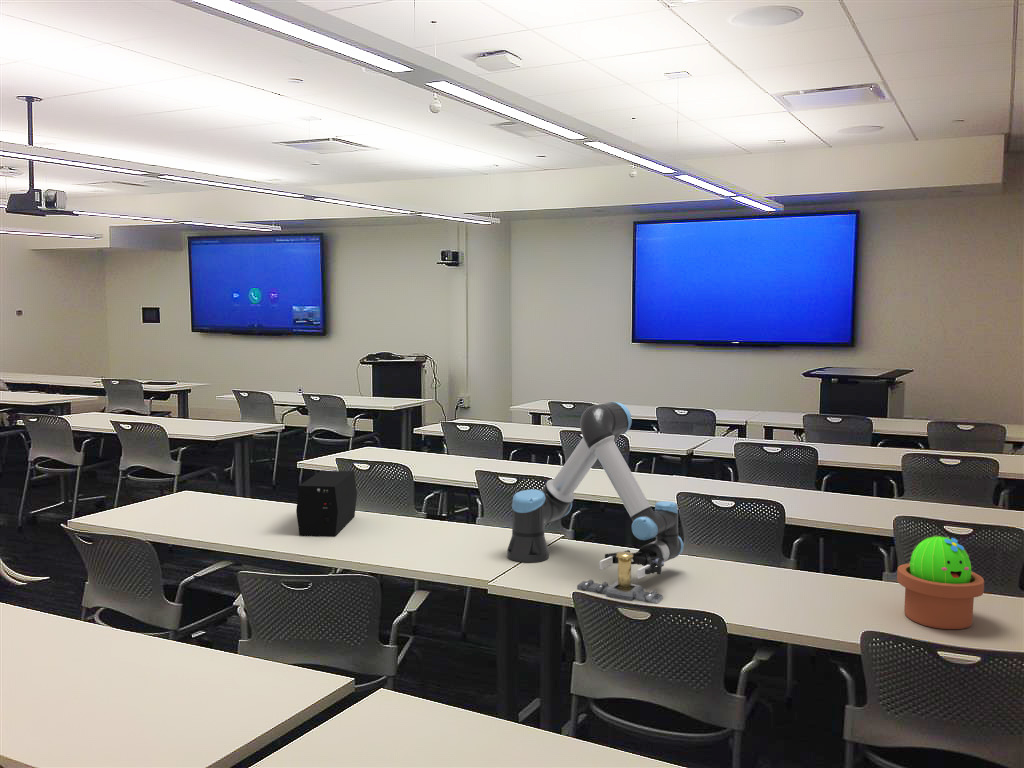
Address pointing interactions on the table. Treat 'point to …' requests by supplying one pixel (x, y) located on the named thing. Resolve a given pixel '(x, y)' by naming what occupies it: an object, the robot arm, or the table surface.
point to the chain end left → (600, 589)
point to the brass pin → (624, 570)
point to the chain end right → (636, 593)
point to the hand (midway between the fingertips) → (619, 569)
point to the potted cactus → (940, 584)
